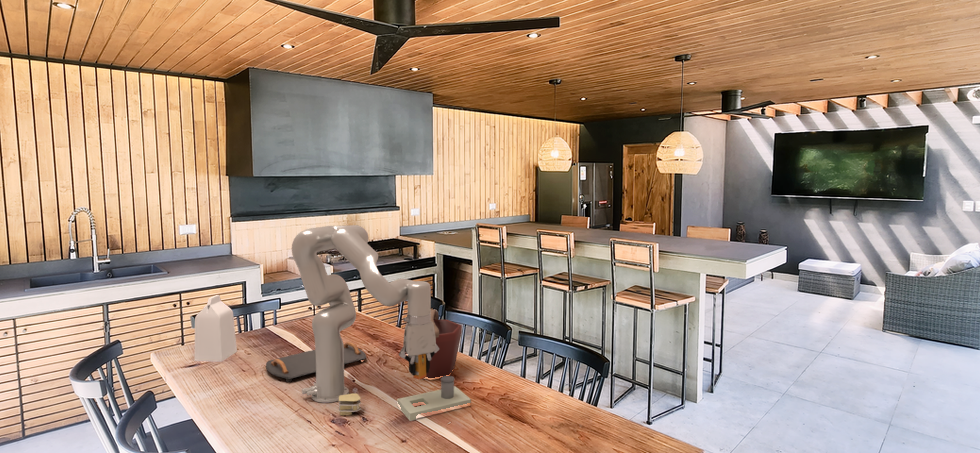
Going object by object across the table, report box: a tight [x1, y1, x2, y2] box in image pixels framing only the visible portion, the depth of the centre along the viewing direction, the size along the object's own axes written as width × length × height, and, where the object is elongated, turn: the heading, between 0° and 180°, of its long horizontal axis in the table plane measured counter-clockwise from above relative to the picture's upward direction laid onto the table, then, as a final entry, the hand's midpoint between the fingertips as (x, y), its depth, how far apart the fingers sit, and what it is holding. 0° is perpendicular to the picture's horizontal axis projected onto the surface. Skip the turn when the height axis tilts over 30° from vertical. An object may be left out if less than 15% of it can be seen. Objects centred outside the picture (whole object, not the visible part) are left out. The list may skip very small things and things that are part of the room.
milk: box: [194, 294, 238, 363], centre depth 212 cm, size 12×12×26 cm
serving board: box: [265, 341, 367, 383], centre depth 205 cm, size 39×23×6 cm, turn 134°
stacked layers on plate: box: [338, 393, 362, 416], centre depth 164 cm, size 10×9×6 cm
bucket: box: [404, 309, 463, 378], centre depth 198 cm, size 24×22×25 cm
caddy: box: [396, 375, 472, 422], centre depth 169 cm, size 22×12×9 cm, turn 120°
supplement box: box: [412, 354, 426, 381], centre depth 165 cm, size 3×3×10 cm
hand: (419, 372), depth 166 cm, fingers closed on supplement box, 4 cm apart
